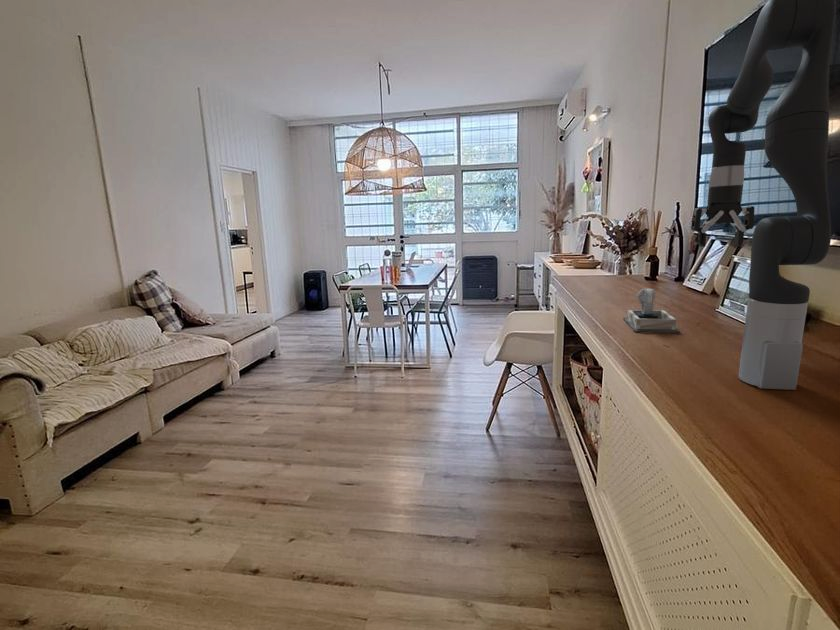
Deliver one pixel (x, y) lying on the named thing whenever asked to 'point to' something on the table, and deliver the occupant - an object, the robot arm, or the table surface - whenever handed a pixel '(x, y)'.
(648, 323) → the holder
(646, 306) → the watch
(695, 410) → the table surface
